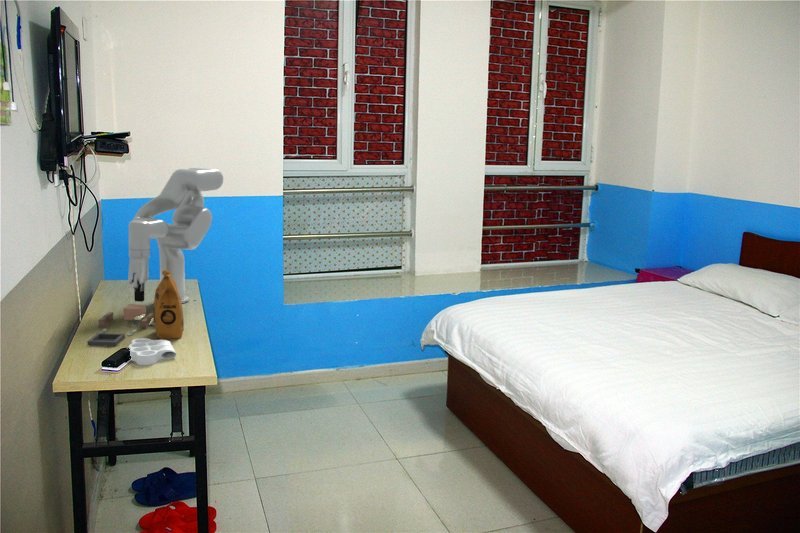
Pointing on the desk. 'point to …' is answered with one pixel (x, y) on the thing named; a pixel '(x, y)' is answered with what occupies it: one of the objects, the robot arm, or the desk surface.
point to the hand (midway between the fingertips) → (139, 300)
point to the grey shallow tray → (106, 339)
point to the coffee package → (168, 309)
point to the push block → (133, 311)
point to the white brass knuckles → (150, 351)
